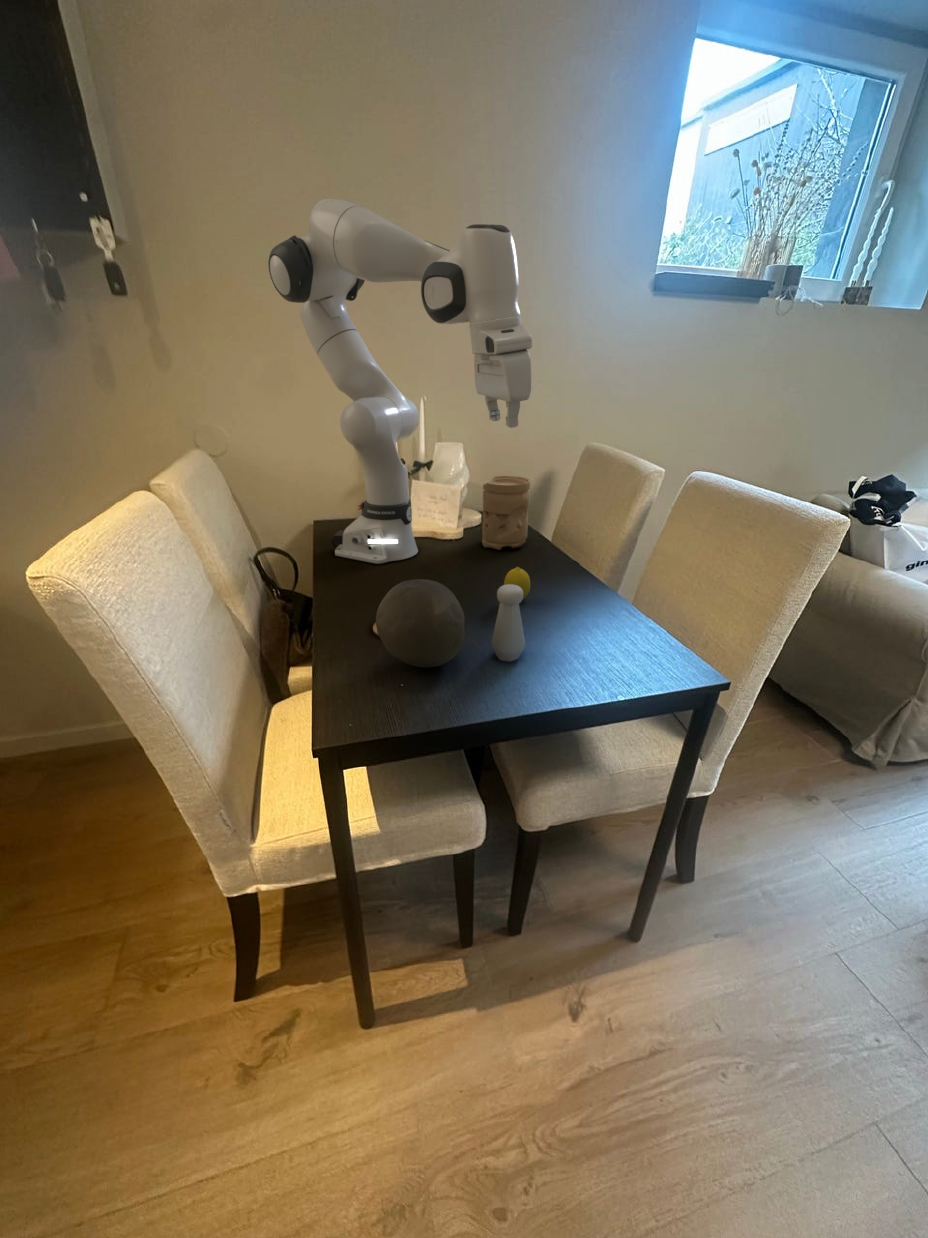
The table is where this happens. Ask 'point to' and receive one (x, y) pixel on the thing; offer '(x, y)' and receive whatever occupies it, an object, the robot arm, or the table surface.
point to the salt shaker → (508, 624)
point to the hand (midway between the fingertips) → (503, 423)
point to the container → (505, 512)
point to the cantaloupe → (421, 623)
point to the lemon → (518, 580)
